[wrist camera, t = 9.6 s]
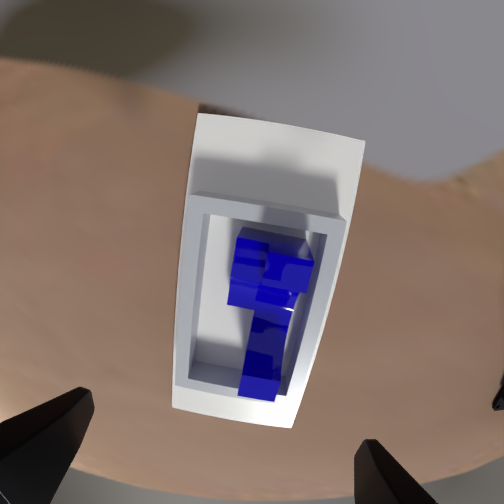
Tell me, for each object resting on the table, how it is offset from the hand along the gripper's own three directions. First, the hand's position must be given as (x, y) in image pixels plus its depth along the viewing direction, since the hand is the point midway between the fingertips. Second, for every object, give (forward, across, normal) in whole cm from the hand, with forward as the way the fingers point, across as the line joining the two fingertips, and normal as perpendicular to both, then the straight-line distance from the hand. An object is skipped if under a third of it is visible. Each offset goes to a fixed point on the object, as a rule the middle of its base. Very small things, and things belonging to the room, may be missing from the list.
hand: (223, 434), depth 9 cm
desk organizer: (+11, 0, 0) cm, 11 cm away
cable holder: (+10, -1, 0) cm, 10 cm away
